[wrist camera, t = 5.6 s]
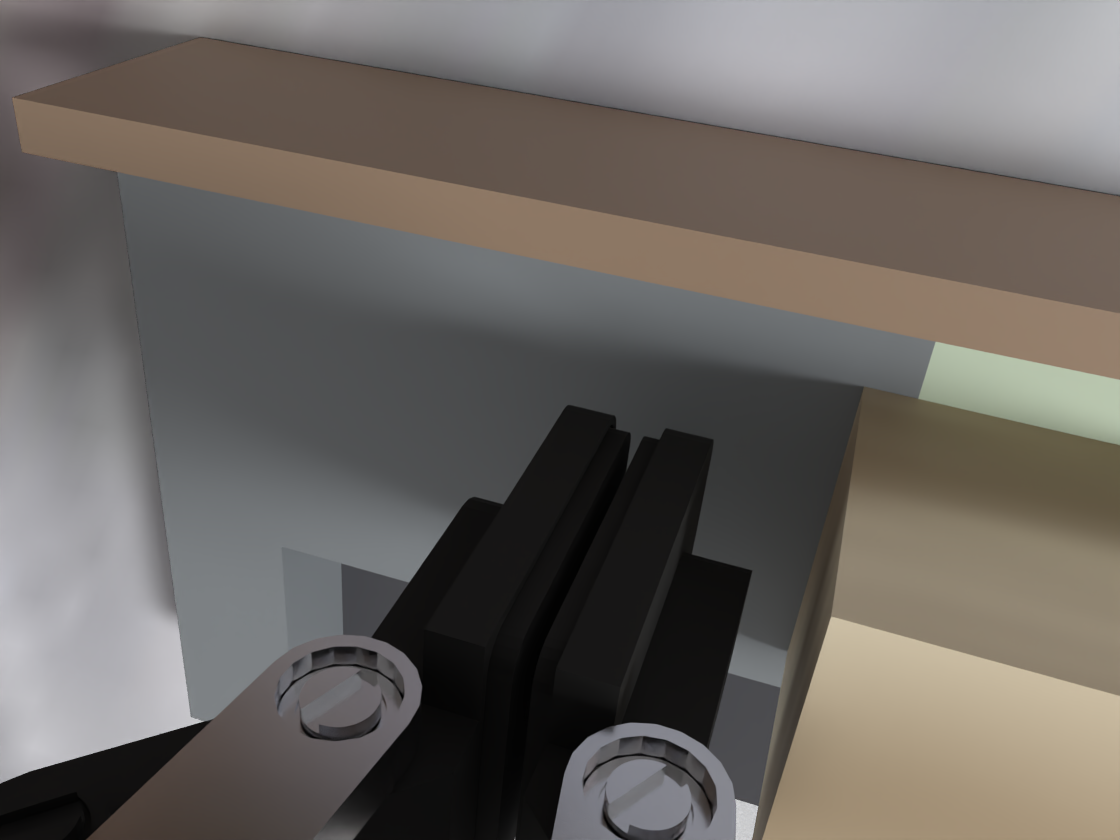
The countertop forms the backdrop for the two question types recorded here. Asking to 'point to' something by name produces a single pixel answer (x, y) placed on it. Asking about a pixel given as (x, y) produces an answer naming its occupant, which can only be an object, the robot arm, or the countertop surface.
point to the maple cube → (955, 638)
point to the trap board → (538, 326)
